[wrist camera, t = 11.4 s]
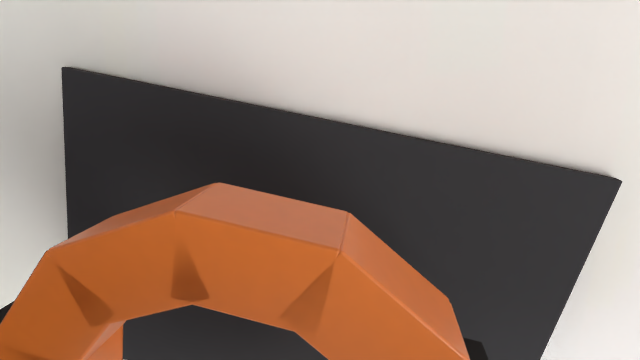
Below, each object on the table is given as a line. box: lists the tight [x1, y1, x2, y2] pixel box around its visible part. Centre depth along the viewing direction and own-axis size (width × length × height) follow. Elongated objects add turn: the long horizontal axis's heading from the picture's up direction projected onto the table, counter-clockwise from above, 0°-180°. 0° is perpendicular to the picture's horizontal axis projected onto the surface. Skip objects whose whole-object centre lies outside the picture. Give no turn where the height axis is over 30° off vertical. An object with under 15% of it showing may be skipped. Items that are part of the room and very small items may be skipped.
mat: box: [62, 67, 622, 360], centre depth 14 cm, size 20×13×1 cm, turn 80°
